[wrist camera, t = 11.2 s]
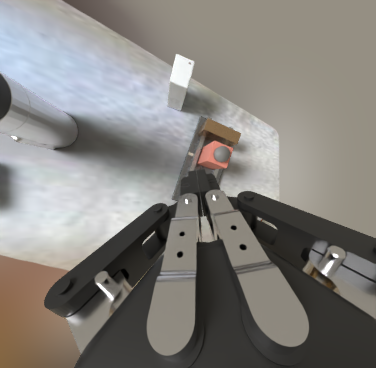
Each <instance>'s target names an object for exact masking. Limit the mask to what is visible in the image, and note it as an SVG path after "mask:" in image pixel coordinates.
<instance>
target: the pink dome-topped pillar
mask: <svg viewBox="0 0 376 368" xmlns="http://www.w3.org/2000/svg"><path fill="white" fill-rule="evenodd" d="M232 151H233V148H231V147H229V146H226V145H224V144H222V143H219V142H217V141H213V142H211V143H210V144H208V145H206V146H205V147H203V148H202V150H201V153H200V156H199V159H198V162H197V164H199V165H202V166H204V167H207V168H210V169H223V168H227V165H228V162H229V160H230V157H231V154H232Z"/></svg>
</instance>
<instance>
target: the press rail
mask: <svg viewBox="0 0 376 368" xmlns="http://www.w3.org/2000/svg"><path fill="white" fill-rule="evenodd" d="M211 119H212V118H209V117H208V118H207V119H206V118H204V117H200V118H199V121H198V124H197V127H196V130H195V133H194V136H193V139H192V142H191V144H190V147H189V150H188V153H187V156H186V159H185V162H184V165H183V168H182V170H181V173H180V176H179V179H178V182H177V185H176V188H175V191H174V194H173V196H172V200H176V201H178V199H179V197H180V187H181V180H182V178H183V177H188V171H193V170H196V173H197V170H200V169H205V172H206V174H209V173H212V174H213V175H215V178H216V180H217V183H218V182H219V179H220V176H221V173H222V170H223V169H210V168H207V167H204V166H202V165H199V164H197V162H198V159H199V156H200V153H201V150H202V148H203V147H205V146H206V145H208V144H210V143H211V142H213V141H217V142H219V143H222V144H224V145H226V146H229V147H231V146H233V145H236V144H238V141H239V138H240V135H241V133H239V132H237V131H235V130H233V128H231V127H229V128H228V127H226V126H224V125H222V124H220V123H217V122H215V121H213V120H211ZM197 179H198V176H197ZM198 185H199V183H198ZM199 192H200V190H199ZM200 199H201V196H200ZM201 206H202V203H201ZM202 210H203V209H202Z"/></svg>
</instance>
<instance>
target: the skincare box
mask: <svg viewBox="0 0 376 368" xmlns="http://www.w3.org/2000/svg"><path fill="white" fill-rule="evenodd" d="M193 67H194V61H192V60H189V59H187V58H185V57H183V56H180V55H177V54H176V57H175V61H174V65H173V69H172V74H171V78H170V83H169V93H168V105H167V106H168V107H171V108H173V109H176V110H179V111H181V109H182V105H183V102H184V99H185V96H186V93H187V89H188V86H189V82H190V78H191V75H192V71H193Z"/></svg>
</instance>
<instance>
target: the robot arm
mask: <svg viewBox="0 0 376 368" xmlns="http://www.w3.org/2000/svg"><path fill="white" fill-rule="evenodd" d="M0 133H1V134H5V135H8V136H10V137H12V138H13V139H14V140H15V141H16V142H19V143H23V144H28V145H33V146H37V147H42V148H47V149H51V150H54V149H55V148H58V147H66V146H69V145H71V144H72V143H73V142H74V141H75V140H76V138H77V135H78V128H77V124H76V122H75V121H74V120H73V118H72V117H70V116H69V115H68V114H66V113H65V112H63V111H62V110H60V109H58V108H57V107H55V106H54V105H52V104H51V103H49V102H47V101H46V100H44V99H43V98H41V97H40V96H38V95H36V94H35V93H33V92H32V91H30V90H28V89H27V88H25V87H24V86H22V85H21V84H19V83H17V82H16V81H14V80H13V79H11V78H9V77H8V76H6V75H5V74H3V73H2V72H0ZM197 176H198V179H197ZM198 183H199V185H198ZM199 190H200V192H199ZM200 196H201V199H200ZM201 203H202V206H201ZM202 209H203V214H202ZM203 215H204V216H207V220H208V224H209V228H210V231H211V234H212V238H213V242H209V243H207V242H202V225H201V217H202V216H203ZM258 217H259V218H261V219H263V220H265V221H267V222H270V223H272V224H273V225H275V226H276V227H277V229H278V230H277V229H275V228H273V227H271V226H269V225H267V224H265V223H263V222H261V221H259V220H258ZM154 231H155V233H154V234H153V235H152V236H151V237H150V238H149V239H148V240H147V241H146V242H145V243H144V244H143V245H142V243H143V242H144V240H145V239H146V238H147V237H148V236H149V235H151V234H152V233H153V232H154ZM164 251H165V253H164V254H163V252H164ZM162 254H163V255H162ZM161 255H162V256H161ZM160 256H161V257H160ZM156 260H157V261H156ZM151 266H152V267H151ZM150 267H151V268H150ZM149 268H150V269H149ZM146 272H147V273H146ZM145 273H146V274H145ZM144 274H145V275H144ZM143 275H144V276H143ZM142 276H143V277H142ZM141 278H142V279H141ZM140 279H141V280H140ZM139 280H140V281H139ZM138 281H139V282H138ZM137 282H138V283H137ZM136 283H137V285H136V286H135V284H136ZM134 286H135V287H134ZM133 287H134V288H133ZM132 288H133V290H132ZM44 305H45V307H46V308H47V309H49V310H51V311H52V312H54V313H56V314H57V315H59V316H61V317H63V318H64V319H66V320H67V321H68V324H69V326H70V328H71V331H72V333H73V336H74V338H75V341H76V343H77V346H78V348H79V351H80V353H81V355H80V357H79V359H78V361H77V363H76V365H75V367H74V368H376V238H373V237H371V236H368V235H365V234H363V233H360V232H357V231H355V230H352V229H350V228H347V227H344V226H342V225H339V224H336V223H334V222H331V221H328V220H326V219H323V218H321V217H318V216H315V215H313V214H310V213H307V212H304V211H302V210H299V209H297V208H294V207H291V206H289V205H286V204H284V203H281V202H278V201H276V200H273V199H270V198H268V197H265V196H263V195H260V194H257V193H255V192H251V191H244V192H241V193H239V194H238V198H237V197H228V196H226V194H225V193H224V192H223V191H221V190H220V188H219V185H218V183H217V180H216V178H215V175H213V174H212V173H209V174H206V172H205V169H200V170H197V173H196V170H193V171H188V177H183V178H182V180H181V187H180V197H179V199H178V202H177V203H175V204H174V205H171V206H167V205H166V204H163V203H159V204H155V205H153V206H152V207H150V208H149V209H148V210H146V211H145V212H144V213H143V214H141V215H140V216H139V217H138V218H136V219H135V220H134V221H133V222H131V223H130V224H129V225H127V226H126V227H125V228H124V229H122V230H121V231H120V232H119V233H117V234H116V235H115V236H114V237H112V238H111V239H110V240H109V241H107V242H106V243H105V244H103V245H102V246H101V247H100V248H98V249H97V250H96V251H95V252H93V253H92V254H91V255H90V256H88V257H87V258H86V259H85V260H83V261H82V262H81V263H79V264H78V265H77V266H76V267H74V268H73V269H72V270H71V271H69V272H68V273H67V274H66V275H64V276H63V277H62V278H61V279H59V280H58V281H57V282H56V283H55V284H54V285H53V286H52V287H51V289H50V290H49V291H48V293H47V295H46V297H45V300H44Z"/></svg>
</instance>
